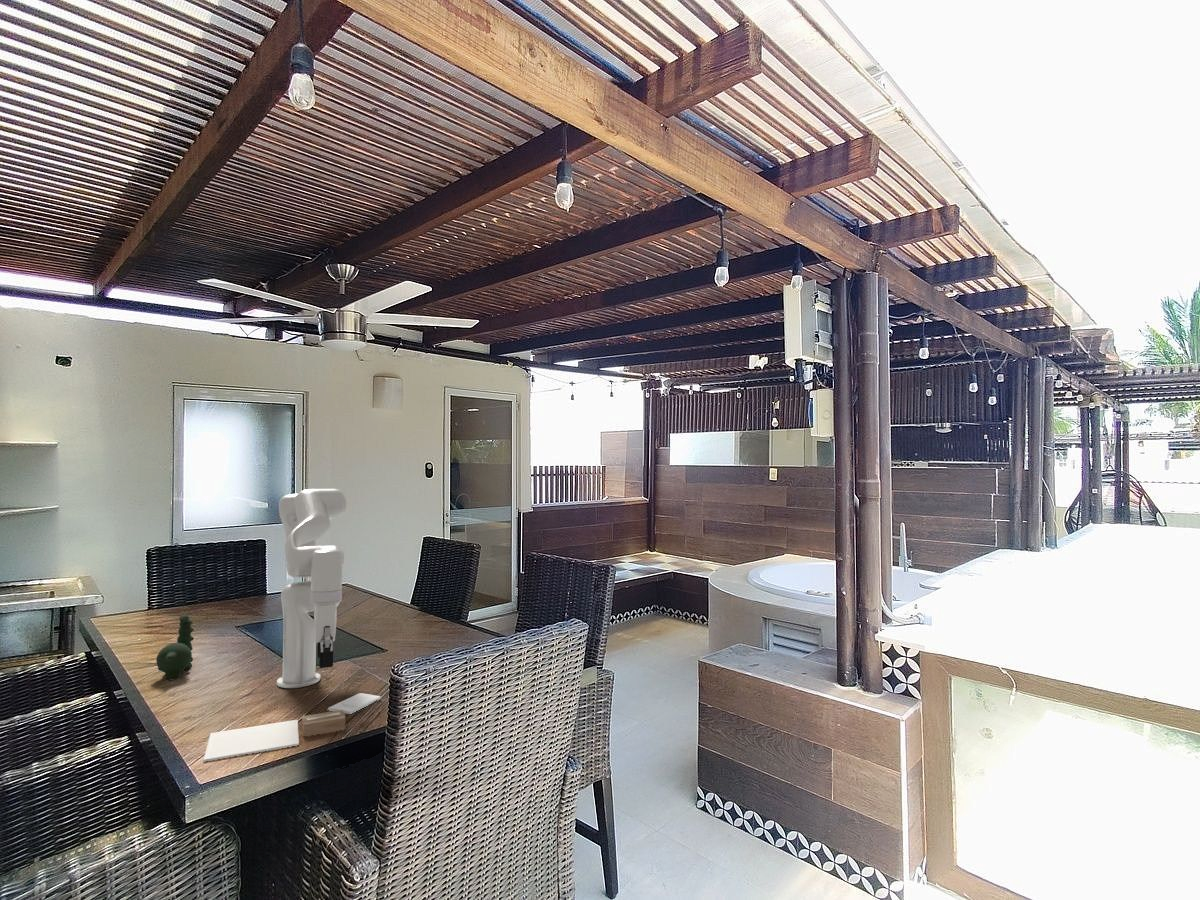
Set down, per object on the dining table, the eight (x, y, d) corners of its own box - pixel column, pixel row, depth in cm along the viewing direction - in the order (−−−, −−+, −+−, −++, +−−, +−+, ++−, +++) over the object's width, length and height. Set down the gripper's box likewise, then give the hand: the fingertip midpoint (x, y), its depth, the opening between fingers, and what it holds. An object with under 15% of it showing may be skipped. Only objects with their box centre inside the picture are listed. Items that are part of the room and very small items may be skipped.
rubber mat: (210, 735, 160) (210, 733, 160) (297, 721, 169) (297, 719, 169) (203, 762, 145) (203, 759, 145) (298, 745, 154) (298, 743, 154)
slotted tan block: (301, 729, 165) (302, 715, 165) (342, 722, 169) (342, 709, 169) (303, 738, 159) (303, 723, 159) (345, 731, 164) (345, 716, 164)
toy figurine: (168, 669, 215) (149, 686, 192) (171, 613, 217) (152, 623, 195) (200, 666, 219) (185, 682, 196) (202, 611, 221) (188, 620, 198)
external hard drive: (381, 701, 185) (350, 717, 174) (359, 697, 188) (327, 712, 177) (381, 696, 185) (350, 711, 174) (359, 692, 188) (327, 706, 177)
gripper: (309, 591, 171) (308, 655, 171) (312, 604, 156) (310, 673, 155) (339, 589, 175) (337, 651, 174) (344, 601, 159) (343, 669, 158)
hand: (325, 661), depth 165 cm, fingers open, 9 cm apart
